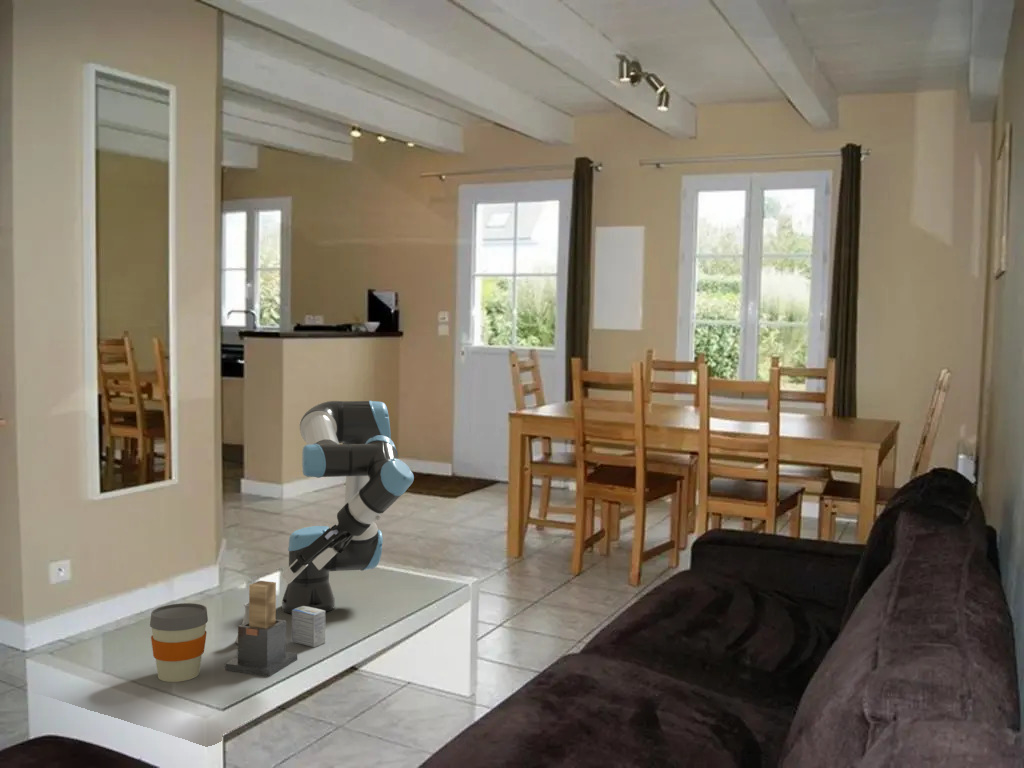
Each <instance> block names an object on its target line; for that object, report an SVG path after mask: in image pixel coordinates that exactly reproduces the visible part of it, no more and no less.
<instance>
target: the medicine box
mask: <svg viewBox="0 0 1024 768" xmlns="http://www.w3.org/2000/svg"><path fill="white" fill-rule="evenodd" d="M291 642H292V643H295V644H300V645H303V646H307V647H312V648H316V647H319V646H321V645H323V644H325V643H326V612H325V610H321V609H317V608H312V607H307V606H301V607H298V608H295V609H293V610H292V614H291Z"/></svg>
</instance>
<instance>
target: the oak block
mask: <svg viewBox="0 0 1024 768" xmlns="http://www.w3.org/2000/svg"><path fill="white" fill-rule="evenodd" d="M248 589H249V591H248V595H249V598H248V599H249V600H248V603H249V626H251V627H258V628H268V627H270V626H272V625H274V624H275V621H276V611H277V610H276V609H277V607H276V605H277V602H276V601H277V599H276V598H277V582H275V581H274V582H273V581H268V580H267V581H266V580H258V581H255V582H253V583H251V584H249V586H248Z"/></svg>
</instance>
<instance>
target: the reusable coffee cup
mask: <svg viewBox="0 0 1024 768" xmlns="http://www.w3.org/2000/svg"><path fill="white" fill-rule="evenodd" d="M208 622H209V618H208V610H207V606H206V605H203V604H201V603H200V604H199V603H192V602H191V603H190V602H185V603H184V602H182V603H173V604H167V605H161V606H160V607H157V608H155V609H153V610H151V613H150V622H149V627H151V632H152V633H151V634H152V635H151V636H150V641H151V647H152V654H153V655H152V656H153V658H154V659H155V663H156V670H157V677H158V679H159V680H160V681H163V682H167V683H175V682H176V683H177V682H185V681H190V680H191V679H192V680H193V679H194V678H196V677H198V676H199V675H200V670H201V662H202V655H203V654H204V652H205V647H206V641H207V631H206V627H207V623H208Z"/></svg>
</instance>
